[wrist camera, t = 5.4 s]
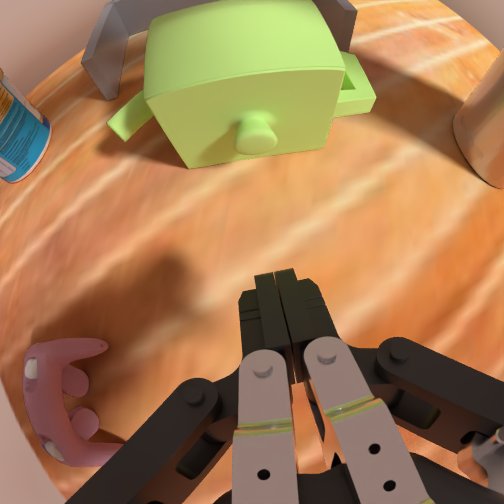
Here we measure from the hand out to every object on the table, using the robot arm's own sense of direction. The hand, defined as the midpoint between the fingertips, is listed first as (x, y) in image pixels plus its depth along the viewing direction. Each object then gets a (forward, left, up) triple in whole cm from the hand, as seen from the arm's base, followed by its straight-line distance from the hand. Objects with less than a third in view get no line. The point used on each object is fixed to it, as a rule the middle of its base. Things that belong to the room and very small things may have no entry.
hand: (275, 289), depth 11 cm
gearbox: (0, -13, -8) cm, 15 cm away
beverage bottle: (+23, -19, -7) cm, 31 cm away
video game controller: (+15, +6, -8) cm, 17 cm away
